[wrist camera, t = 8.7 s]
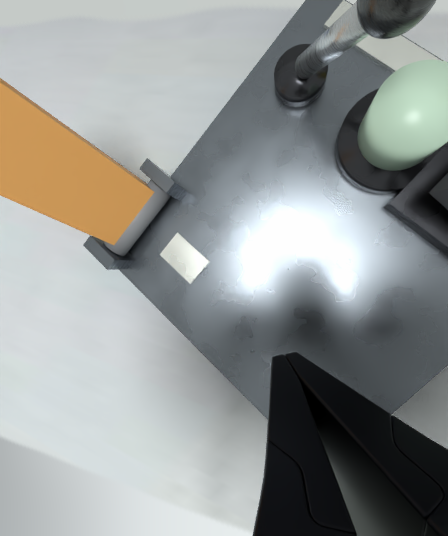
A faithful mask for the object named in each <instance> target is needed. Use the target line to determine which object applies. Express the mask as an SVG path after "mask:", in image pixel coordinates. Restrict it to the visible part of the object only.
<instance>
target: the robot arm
mask: <svg viewBox="0 0 448 536" xmlns="http://www.w3.org/2000/svg"><path fill="white" fill-rule="evenodd" d="M253 536H448V449H446V448H444V447H443V446H441V445H439V444H438V443H436V442H434V441H432V440H431V439H429V438H427V437H426V436H424V435H423V434H421V433H420V432H418V431H416V430H415V429H413V428H412V427H410V426H409V425H407V424H405V423H404V422H402V421H401V420H399V419H398V418H396V417H395V416H391V414H390V413H389V412H387V411H386V410H384V409H383V408H381V407H380V406H378V405H377V404H375V403H373V402H372V401H370V400H369V399H367V398H366V397H364V396H363V395H361V394H360V393H358V392H357V391H355V390H354V389H352V388H351V387H349V386H348V385H346V384H345V383H343V382H342V381H340V380H339V379H337V378H336V377H334V376H333V375H331V374H330V373H328V372H327V371H325V370H324V369H322V368H321V367H319V366H318V365H316V364H315V363H313V362H311V361H310V360H308V359H307V358H305V357H304V356H302V355H301V354H299V353H298V352H290V353H286V354H285V355H283V354H280V355H275V356H272V364H271V381H270V397H269V413H268V430H267V444H266V459H265V469H264V478H263V484H262V490H261V496H260V501H259V506H258V511H257V516H256V521H255V526H254V532H253Z"/></svg>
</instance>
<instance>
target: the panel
mask: <svg viewBox="0 0 448 536" xmlns="http://www.w3.org/2000/svg"><path fill="white" fill-rule="evenodd" d="M352 5H353V4H351V3H349V2H348V1H346V0H305V2H304V3H303V4H302V6H301V7H300V8H299V10H298V11H297V12H296V13H295V15H294V16H293V17H292V19H291V20H290V21H289V23H288V24H287V25H286V27H285V28H284V29H283V30H282V32H281V33H280V34H279V36H278V37H277V38H276V40H275V41H274V42H273V44H272V45H271V46H270V47H269V49H268V50H267V51H266V53H265V54H264V55H263V57H262V58H261V59H260V61H259V62H258V63H257V65H256V66H255V67H254V68H253V70H252V71H251V72H250V74H249V75H248V76H247V78H246V79H245V80H244V82H243V83H242V84H241V85H240V87H239V88H238V89H237V91H236V92H235V93H234V95H233V96H232V97H231V99H230V100H229V101H228V102H227V104H226V105H225V106H224V108H223V109H222V110H221V112H220V113H219V114H218V116H217V117H216V118H215V119H214V121H213V122H212V123H211V125H210V126H209V127H208V129H207V130H206V131H205V133H204V134H203V135H202V136H201V138H200V139H199V140H198V142H197V143H196V144H195V146H194V147H193V148H192V150H191V151H190V152H189V153H188V155H187V156H186V157H185V159H184V160H183V161H182V163H181V164H180V165H179V167H178V168H177V169H176V170H175V172H174V173H173V174H172V176H171V177H170V176H169V175H168V174H167V173H165V172H164V171H163V170H162V169H160V168H159V167H158V166H157V165H155V164H154V163H153V162H151V161H150V160H149V159H148V158H147V159H146V161H145V162H144V163H143V165H142V166H141V167H140V170H141V171H142V172H144V173H145V174H146V175H147V176H148V177H149V178H150V179H151V180H153V181H154V182H155V183H156V184H157V185H158V186H159V187H160V188H161V189H163V190H164V191H165V192H166V193H167V194H169V195H171V197H170V198H169V199H168V201H167V202H166V203H165V205H164V206H163V207H162V209H161V210H160V211H159V212H158V214H157V215H156V216H155V218H154V219H153V220H152V221H151V223H150V224H149V225H148V227H147V228H146V229H145V230H144V232H143V233H142V234H141V236H140V237H139V238H138V239H137V241H136V242H135V243H134V245H133V246H132V247H131V248H130V250H129V251H128V252H127V254H126V255H125V256H121V255H118V254H116V253H114V252H113V251H111V250H110V249H109V248H108V247H107V246H106V245H105V243H104V241H103V240H101V239H98V238H96V237H94V236H90V237H89V238H88V239H87V241H86V242H85V243H84V246H85V247H86V248H87V249H88V251H89V252H90V253H91V254H92V255H93V256H94V257H95V258H96V259H97V260H98V261H99V262H100V263H101V264H102V265H103V266H104V267H105V268H106V269H107V270H110V269H119V270H120V271H121V272H122V273H123V274H124V275H125V276H126V277H127V278H128V279H129V280H130V281H131V282H132V283H133V284H134V285H135V286H136V287H137V288H138V289H139V290H140V291H141V292H142V293H143V294H144V295H145V296H146V297H147V298H148V299H149V300H150V301H151V302H152V303H153V304H154V305H155V306H156V307H157V308H158V309H159V310H160V311H161V312H162V313H163V314H164V315H165V316H166V317H167V318H168V319H169V321H170V322H171V323H172V324H173V325H174V326H175V327H176V328H177V329H178V330H179V331H180V332H181V333H182V334H183V335H184V336H185V337H186V338H187V339H188V340H189V341H190V342H191V343H192V344H193V345H194V346H195V347H196V348H197V349H198V350H199V351H200V352H201V353H202V354H203V355H204V356H205V357H206V358H207V359H208V360H209V361H210V362H211V363H212V364H213V365H214V366H215V367H216V368H217V369H218V370H219V371H220V372H221V373H222V374H223V375H224V376H225V377H226V378H227V379H228V380H229V381H230V382H231V383H232V384H233V385H234V386H235V387H236V388H237V389H238V390H239V391H240V392H241V393H242V394H243V395H244V396H245V397H246V398H247V399H248V400H249V401H250V402H251V403H252V404H253V405H254V406H255V407H256V408H257V409H258V410H259V411H260V412H261V413H262V414H263V415H264V416H265V417H266V418H267V419H268V413H269V397H270V381H271V364H272V356H275V355H280V354H283V355H285V354H286V353H290V352H298V353H299V354H301V355H302V356H304V357H305V358H307V359H308V360H310V361H311V362H313V363H315V364H316V365H318V366H319V367H321V368H322V369H324V370H325V371H327V372H328V373H330V374H331V375H333V376H334V377H336V378H337V379H339V380H340V381H342V382H343V383H345V384H346V385H348V386H349V387H351V388H352V389H354V390H355V391H357V392H358V393H360V394H361V395H363V396H364V397H366V398H367V399H369V400H370V401H372V402H373V403H375V404H377V405H378V406H380V407H381V408H383V409H384V410H386V411H387V412H389V413H390V414H392V413H393V412H395V411H396V410H397V409H398V408H399V407H400V406H401V405H403V404H404V403H405V402H406V401H407V400H408V399H409V398H411V397H412V396H413V395H414V394H415V393H416V392H417V391H419V390H420V389H421V388H422V387H423V386H424V385H425V384H427V383H428V382H429V381H430V380H431V379H432V378H433V377H435V376H436V375H437V374H438V373H439V372H440V371H441V370H443V369H444V368H445V367H446V366H447V365H448V210H447V209H446V208H445V207H444V206H443V205H442V204H441V203H440V202H438V201H437V200H436V199H435V198H434V197H433V196H432V195H431V194H430V193H429V192H430V191H431V190H432V189H433V188H434V187H435V186H436V185H437V184H438V183H439V182H440V181H441V180H442V178H443V177H444V176H445V175H446V174H447V173H448V142H447V143H445V144H444V145H443V146H441V147H440V148H439V149H438V150H436V151H435V152H434V153H432V154H431V155H430V156H428V157H427V158H426V159H424V160H423V161H422V162H420V163H419V164H417V165H415V166H413V167H410V168H407V169H404V170H396V171H391V170H384V169H380V168H378V167H376V166H374V165H372V164H370V163H369V162H368V161H367V160H366V159H365V158H364V157H363V155H362V154H361V151H360V149H359V146H358V130H359V126H360V124H361V122H362V120H363V118H364V116H365V114H366V112H367V110H368V109H369V107H370V105H371V103H372V101H373V99H374V97H375V95H376V94H377V92H378V90H379V88H380V87H381V85H382V84H383V83H384V81H385V80H386V79H387V78H388V77H389V76H390V75H391V74H393V73H394V72H395V71H397V70H398V69H400V68H401V67H403V66H405V65H408V64H410V63H413V62H417V61H421V60H441V59H440V58H438V57H437V56H435V55H433V54H432V53H430V52H428V51H427V50H425V49H424V48H422V47H420V46H419V45H417V44H416V43H414V42H412V41H411V40H409V39H408V38H406V37H404V36H403V35H400V36H397V37H394V38H390V39H378V38H374V37H372V36H370V35H369V36H367V37H366V38H364V39H363V40H361V41H360V42H359V43H357V44H356V45H354V46H353V47H352V48H350V49H349V50H347V51H346V52H345V53H343V54H342V55H340V56H339V57H337V58H336V59H335V60H333V61H332V62H330V63H329V64H328V65H326V66H325V67H323V68H322V69H321V70H319V71H318V72H316V73H315V74H313V75H312V76H311V77H309V78H307V79H302V78H300V77H299V76H298V75H297V74H296V71H295V62H296V60H297V58H298V56H299V55H300V54H302V53H303V52H304V51H305V50H306V49H307V48H308V47H309V46H310V45H311V44H312V43H313V42H314V41H315V40H316V39H317V38H318V37H320V36H321V35H322V34H323V33H324V32H325V31H326V30H327V29H328V28H329V27H330V26H331V25H332V24H333V23H334V22H335V21H336V20H338V19H339V18H340V17H341V16H342V15H343V14H344V13H345V12H346V11H347V10H348V9H349V8H350V7H351V6H352ZM441 61H443V60H441Z"/></svg>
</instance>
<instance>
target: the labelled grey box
mask: <svg viewBox="0 0 448 536" xmlns="http://www.w3.org/2000/svg"><path fill="white" fill-rule="evenodd" d="M429 193H430V194H431V195H432V196H433V197H434V198H435V199H436V200H437V201H438V202H440V203H441V204H442V205H443V206H444V207H445V208H446V209H447V210H448V173H447V174H446V175H445V176H444V177H443V178H442V180H441V181H440V182H439V183H438V184H437V185H436V186H435V187H434V188H433V189H432V190H431V191H430V192H429Z"/></svg>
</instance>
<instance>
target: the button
mask: <svg viewBox="0 0 448 536" xmlns="http://www.w3.org/2000/svg"><path fill="white" fill-rule="evenodd" d="M447 142H448V62H445V61H441V60H421V61H417V62H413V63H410V64H408V65H405V66H403V67H401V68H400V69H398V70H397V71H395V72H394V73H393V74H391V75H390V76H389V77H388V78H387V79H386V80H385V81H384V83H383V84H382V85H381V87H380V88H379V90H378V92H377V94H376V95H375V97H374V99H373V101H372V103H371V105H370V107H369V109H368V110H367V112H366V114H365V116H364V118H363V120H362V122H361V124H360V126H359V130H358V146H359V149H360V151H361V154H362V155H363V157H364V158H365V159H366V160H367V161H368V162H369V163H370V164H372V165H374V166H376V167H378V168H380V169H384V170H391V171H396V170H404V169H407V168H410V167H413V166H415V165H417V164H419V163H420V162H422V161H423V160H424V159H426V158H427V157H428V156H430V155H431V154H432V153H434V152H435V151H436V150H438V149H439V148H440V147H441V146H443V145H444V144H445V143H447Z"/></svg>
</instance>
